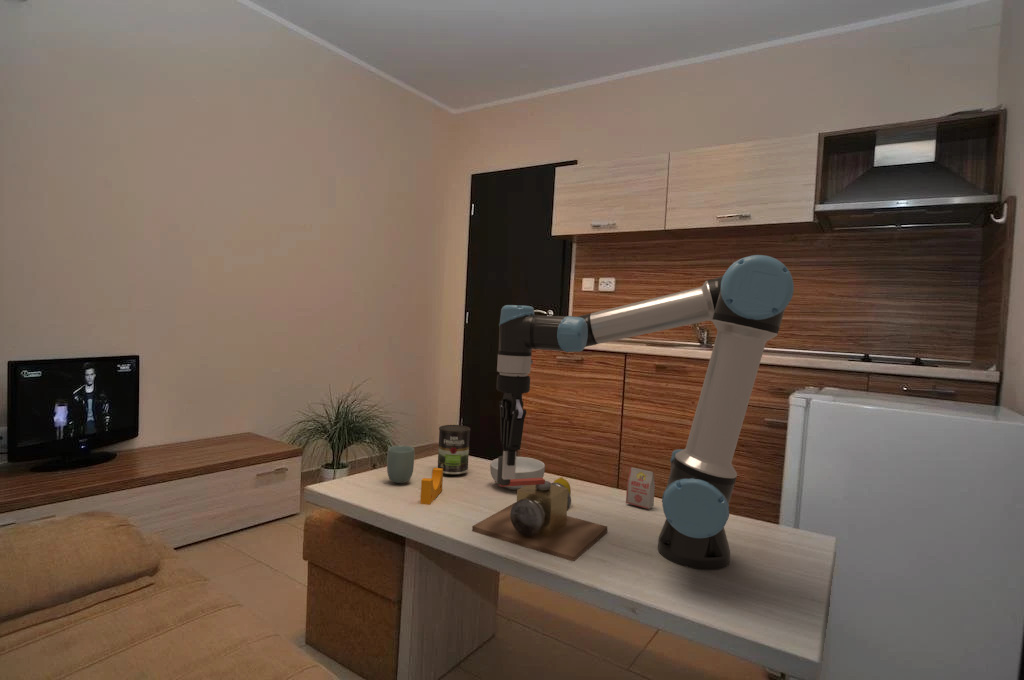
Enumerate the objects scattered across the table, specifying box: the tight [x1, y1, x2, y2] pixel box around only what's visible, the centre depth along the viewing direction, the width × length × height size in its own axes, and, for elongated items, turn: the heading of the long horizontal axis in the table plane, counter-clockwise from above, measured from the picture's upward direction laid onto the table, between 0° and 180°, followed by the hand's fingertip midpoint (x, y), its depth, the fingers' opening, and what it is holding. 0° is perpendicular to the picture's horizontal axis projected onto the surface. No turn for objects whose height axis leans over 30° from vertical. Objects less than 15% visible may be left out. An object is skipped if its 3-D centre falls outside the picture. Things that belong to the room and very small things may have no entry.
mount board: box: [471, 501, 609, 562], centre depth 121 cm, size 26×20×2 cm
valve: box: [510, 482, 572, 538], centre depth 121 cm, size 9×16×9 cm, turn 149°
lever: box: [496, 455, 552, 490], centre depth 119 cm, size 13×4×8 cm, turn 109°
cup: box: [386, 444, 415, 484], centre depth 153 cm, size 8×8×10 cm
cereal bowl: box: [489, 456, 546, 491], centre depth 154 cm, size 17×17×7 cm
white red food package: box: [625, 466, 656, 510], centre depth 144 cm, size 4×7×10 cm, turn 54°
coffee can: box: [437, 424, 471, 475], centre depth 167 cm, size 10×10×14 cm
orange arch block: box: [420, 467, 444, 505], centre depth 142 cm, size 12×4×6 cm, turn 172°
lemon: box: [552, 476, 572, 496], centre depth 139 cm, size 6×6×8 cm
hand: (508, 478), depth 114 cm, fingers closed
